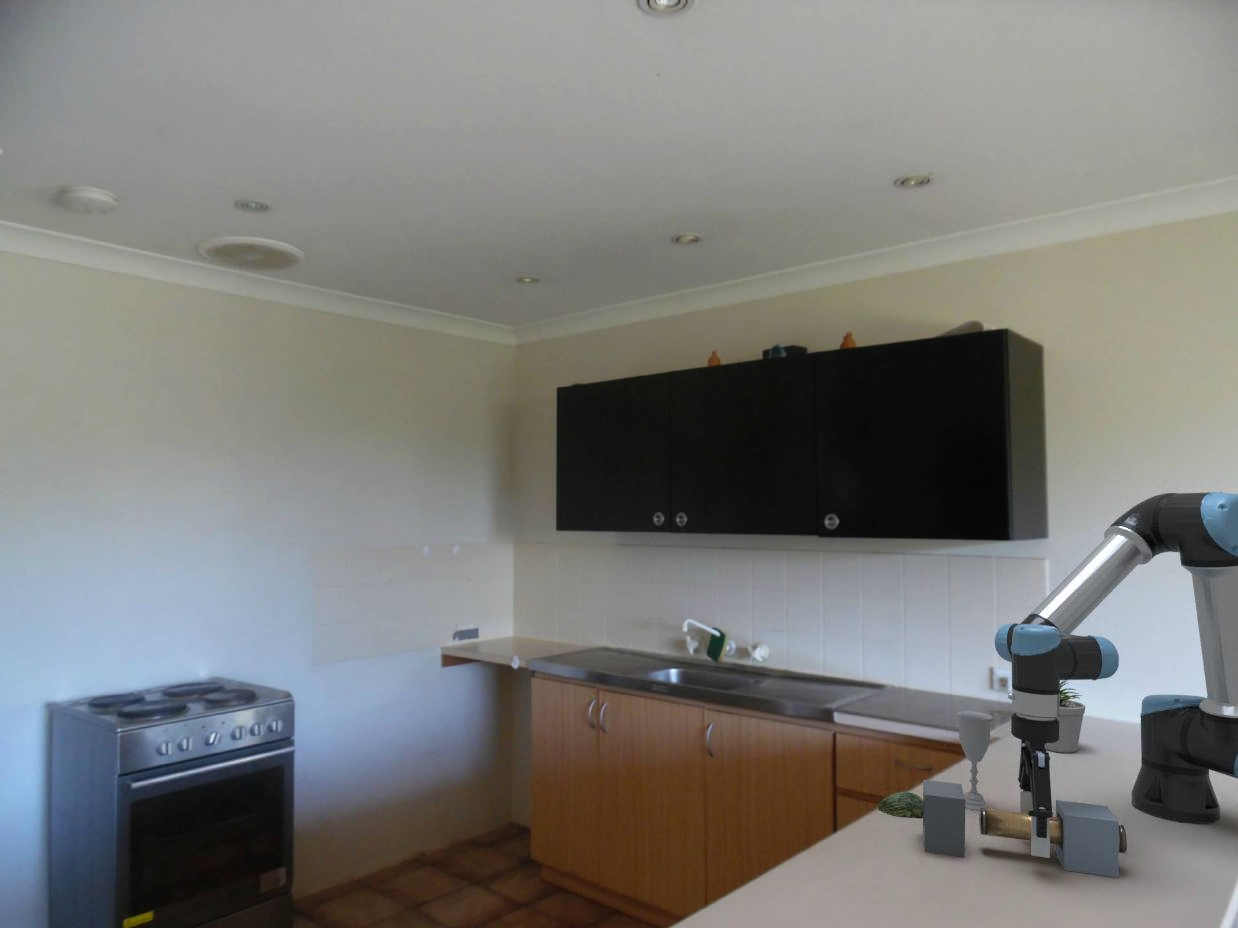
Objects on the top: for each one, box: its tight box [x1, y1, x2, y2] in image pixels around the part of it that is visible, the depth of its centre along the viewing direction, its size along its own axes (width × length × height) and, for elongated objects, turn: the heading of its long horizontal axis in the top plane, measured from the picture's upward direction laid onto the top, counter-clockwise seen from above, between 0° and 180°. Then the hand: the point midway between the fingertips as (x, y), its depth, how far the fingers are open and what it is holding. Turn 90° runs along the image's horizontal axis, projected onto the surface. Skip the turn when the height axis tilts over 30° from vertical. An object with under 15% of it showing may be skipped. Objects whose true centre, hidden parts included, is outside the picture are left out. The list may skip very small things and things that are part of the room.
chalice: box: [956, 710, 993, 811], centre depth 175 cm, size 7×7×18 cm
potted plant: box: [1045, 680, 1086, 754], centre depth 221 cm, size 13×14×20 cm
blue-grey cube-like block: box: [1055, 799, 1120, 879], centre depth 147 cm, size 8×8×9 cm
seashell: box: [876, 791, 923, 819], centre depth 171 cm, size 10×4×10 cm
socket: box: [922, 779, 966, 858], centre depth 153 cm, size 6×9×10 cm
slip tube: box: [978, 807, 1128, 854], centre depth 148 cm, size 22×4×4 cm, turn 73°
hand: (1034, 841), depth 149 cm, fingers open, 12 cm apart
